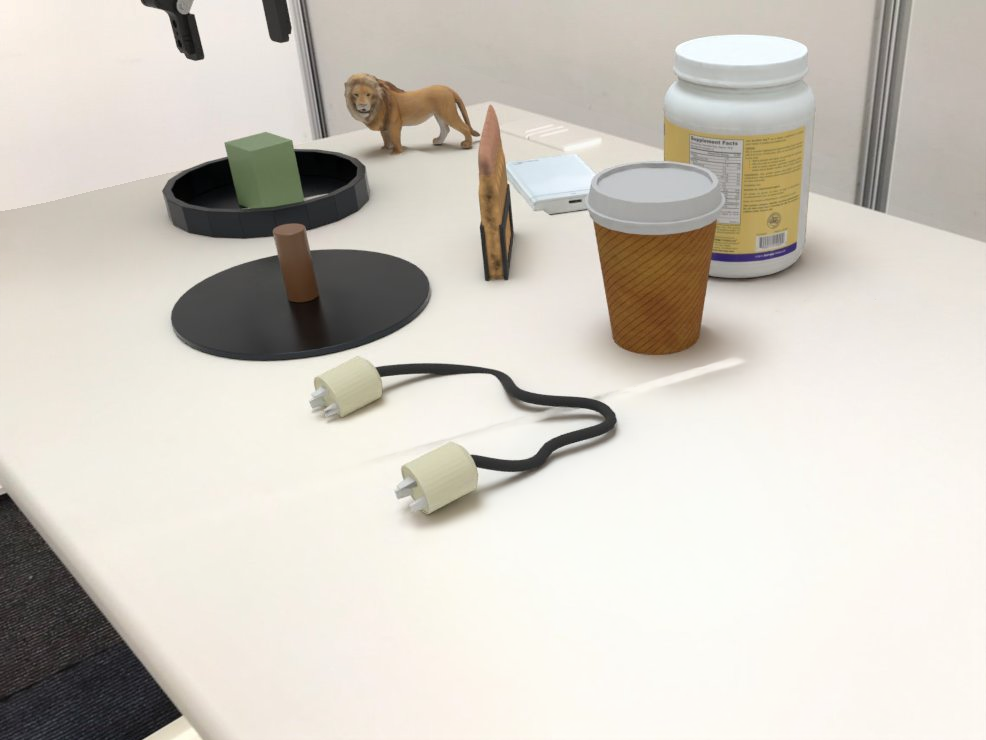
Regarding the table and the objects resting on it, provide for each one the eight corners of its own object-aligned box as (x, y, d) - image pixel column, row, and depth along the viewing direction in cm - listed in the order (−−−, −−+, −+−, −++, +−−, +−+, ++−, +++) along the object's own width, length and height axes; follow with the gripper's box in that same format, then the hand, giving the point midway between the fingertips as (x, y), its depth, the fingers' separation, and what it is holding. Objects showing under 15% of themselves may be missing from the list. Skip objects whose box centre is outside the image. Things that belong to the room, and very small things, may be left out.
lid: (198, 393, 71) (172, 304, 68) (157, 291, 86) (133, 213, 82) (467, 328, 79) (457, 245, 75) (388, 245, 93) (376, 171, 90)
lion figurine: (364, 168, 112) (349, 81, 106) (348, 156, 115) (333, 71, 110) (489, 145, 118) (481, 61, 113) (470, 134, 121) (461, 52, 116)
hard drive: (502, 162, 107) (533, 199, 98) (578, 152, 110) (615, 188, 100) (503, 178, 108) (534, 216, 99) (578, 168, 111) (616, 205, 101)
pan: (189, 259, 91) (180, 226, 90) (158, 197, 105) (150, 167, 103) (394, 219, 99) (390, 188, 97) (341, 167, 112) (335, 138, 110)
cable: (504, 346, 77) (500, 302, 75) (639, 439, 66) (638, 391, 64) (301, 413, 69) (291, 366, 67) (416, 531, 58) (408, 480, 56)
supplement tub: (688, 222, 97) (690, 28, 87) (818, 237, 93) (835, 36, 84) (643, 272, 87) (639, 60, 78) (785, 291, 84) (800, 71, 74)
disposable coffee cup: (744, 332, 78) (751, 172, 71) (676, 385, 71) (677, 215, 65) (637, 303, 82) (635, 151, 75) (565, 351, 76) (555, 188, 69)
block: (264, 214, 99) (250, 151, 95) (238, 204, 101) (223, 142, 98) (304, 202, 102) (292, 140, 98) (278, 192, 104) (265, 131, 101)
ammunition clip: (493, 239, 94) (480, 102, 87) (514, 238, 94) (502, 101, 87) (485, 287, 85) (469, 139, 79) (508, 286, 85) (494, 138, 79)
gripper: (244, -167, 91) (283, 31, 100) (83, -158, 82) (142, 59, 91) (293, -166, 87) (330, 41, 96) (129, -156, 78) (186, 71, 87)
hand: (238, 50), depth 94 cm, fingers open, 8 cm apart
